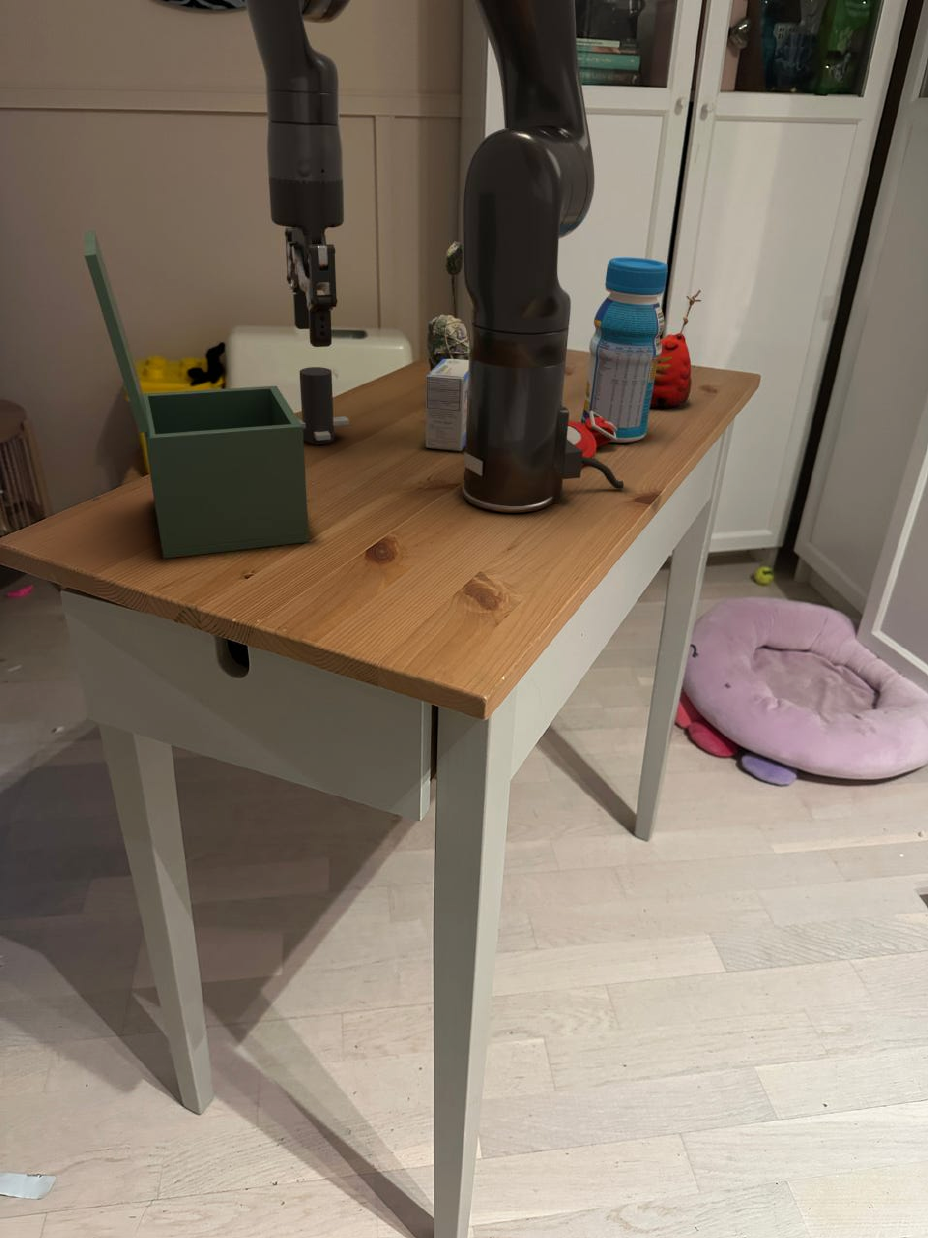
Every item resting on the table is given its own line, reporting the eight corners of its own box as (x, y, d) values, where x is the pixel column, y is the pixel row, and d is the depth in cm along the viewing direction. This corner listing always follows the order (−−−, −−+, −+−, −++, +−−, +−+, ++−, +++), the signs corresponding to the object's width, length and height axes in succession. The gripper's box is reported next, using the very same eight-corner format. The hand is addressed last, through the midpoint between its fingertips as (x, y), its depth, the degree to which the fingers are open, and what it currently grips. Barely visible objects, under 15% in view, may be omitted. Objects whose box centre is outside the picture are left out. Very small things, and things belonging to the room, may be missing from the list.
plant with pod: (405, 411, 115) (406, 245, 104) (454, 392, 123) (459, 236, 113) (457, 424, 111) (463, 253, 101) (504, 403, 119) (514, 243, 109)
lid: (94, 230, 73) (84, 231, 73) (95, 253, 63) (84, 255, 63) (141, 387, 81) (132, 389, 80) (149, 431, 71) (139, 433, 70)
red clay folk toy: (634, 393, 126) (649, 282, 118) (684, 396, 125) (703, 285, 118) (638, 409, 119) (654, 292, 112) (691, 412, 119) (711, 295, 111)
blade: (342, 429, 108) (339, 362, 104) (354, 445, 103) (352, 376, 99) (284, 433, 105) (279, 365, 101) (293, 450, 101) (289, 379, 97)
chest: (284, 490, 90) (276, 385, 85) (309, 542, 80) (302, 425, 75) (154, 503, 86) (138, 393, 81) (163, 559, 76) (145, 437, 71)
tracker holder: (581, 466, 96) (503, 428, 99) (572, 497, 99) (497, 459, 102) (629, 415, 103) (555, 381, 106) (619, 446, 107) (548, 412, 109)
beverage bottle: (604, 447, 105) (631, 268, 95) (565, 425, 111) (586, 255, 101) (660, 440, 108) (692, 267, 98) (619, 419, 115) (645, 254, 105)
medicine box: (461, 452, 102) (464, 377, 98) (424, 448, 103) (425, 373, 98) (474, 431, 109) (478, 360, 104) (439, 428, 109) (441, 356, 105)
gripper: (359, 181, 85) (361, 351, 94) (327, 168, 97) (331, 321, 105) (281, 179, 83) (290, 354, 91) (257, 167, 94) (267, 323, 103)
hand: (312, 336), depth 98 cm, fingers open, 8 cm apart
